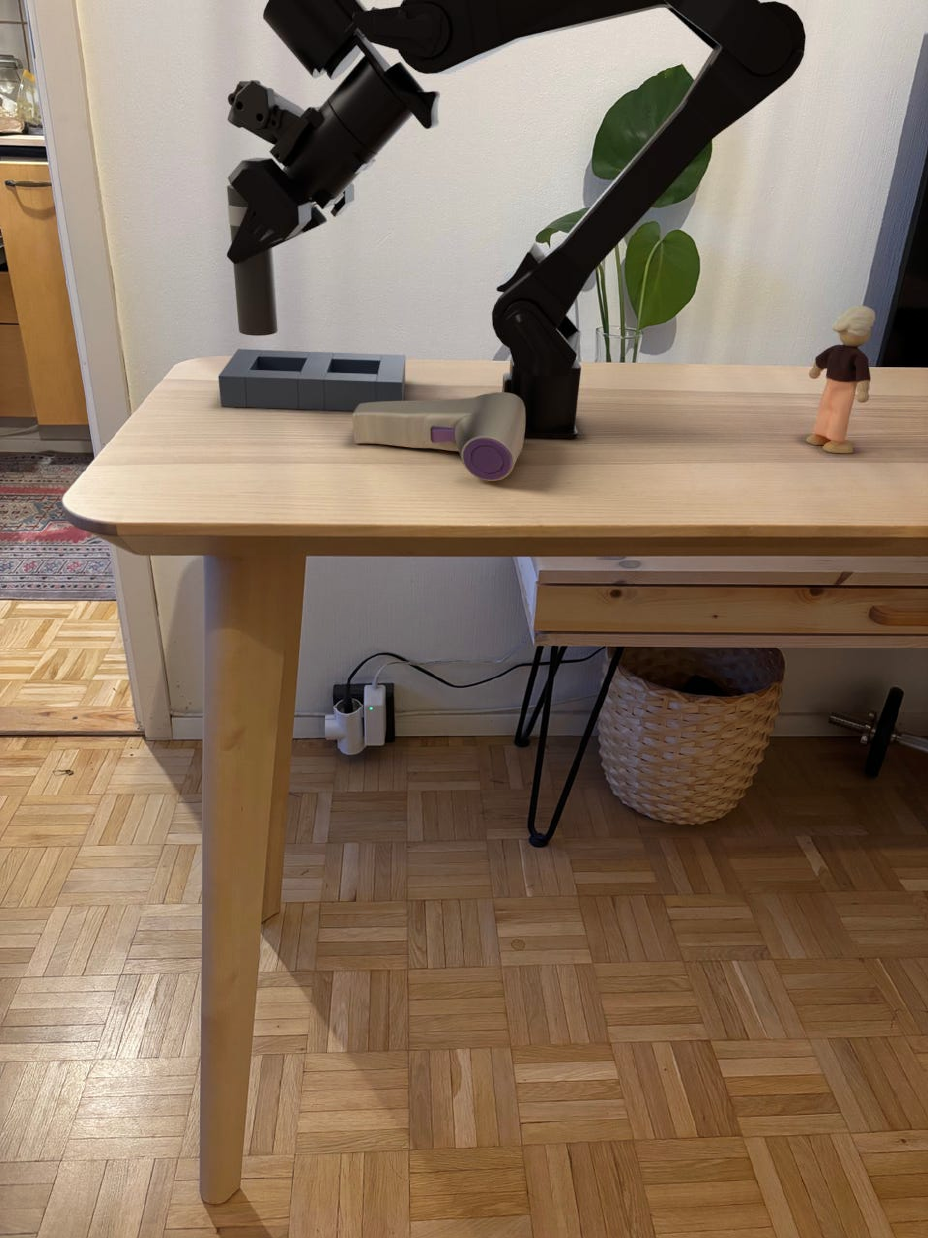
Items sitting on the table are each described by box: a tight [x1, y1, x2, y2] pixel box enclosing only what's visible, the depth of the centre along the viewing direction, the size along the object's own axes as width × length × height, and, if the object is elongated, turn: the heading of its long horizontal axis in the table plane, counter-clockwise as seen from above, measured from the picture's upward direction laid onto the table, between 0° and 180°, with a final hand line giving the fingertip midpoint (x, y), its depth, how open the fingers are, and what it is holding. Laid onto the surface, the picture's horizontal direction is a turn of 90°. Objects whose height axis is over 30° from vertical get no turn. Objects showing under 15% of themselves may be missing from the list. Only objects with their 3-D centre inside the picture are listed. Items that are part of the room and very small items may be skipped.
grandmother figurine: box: [806, 305, 876, 454], centre depth 84 cm, size 8×4×13 cm, turn 31°
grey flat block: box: [218, 348, 406, 412], centre depth 93 cm, size 18×10×3 cm, turn 91°
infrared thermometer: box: [351, 391, 526, 482], centre depth 79 cm, size 5×12×15 cm
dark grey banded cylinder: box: [226, 184, 278, 337], centre depth 84 cm, size 4×4×12 cm
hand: (238, 256), depth 84 cm, fingers closed on dark grey banded cylinder, 3 cm apart
